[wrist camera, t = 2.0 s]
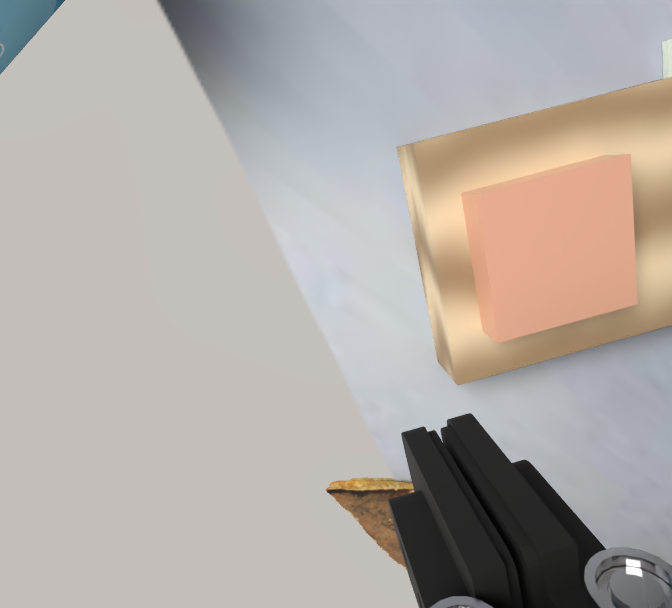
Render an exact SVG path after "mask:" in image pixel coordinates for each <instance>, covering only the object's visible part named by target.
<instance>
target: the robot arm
mask: <svg viewBox="0 0 672 608" xmlns="http://www.w3.org/2000/svg"><path fill="white" fill-rule="evenodd" d="M441 435H442V440H443V442H442V441H441V439H440V437H439V436H438V434H437V432H436V431H435V430H433V431H429V432H427V430H426V428H425V427H420V428H417V429H413V430H410V431H406V432H403V433H402V440H403V445H404V449H405V453H406V458H407V462H408V466H409V470H410V475H411V479H412V483H413V488H414V492H412V493H409V494H406V495H402V496H399V497H395V498H392V499H389V500H388V503H389V508H390V512H391V516H392V519H393V523H394V527H395V531H396V535H397V538H398V542H399V545H400V549H401V552H402V555H403V559H404V562H405V565H406V568H407V571H408V574H409V578H410V581H411V584H412V586H413V590H414V593H415V596H416V599H417V602H418V605H419V608H672V566H671V565H670V564H668V563H667V562H665V561H664V560H662V559H660V558H659V557H657V556H654V555H652V554H649V553H647V552H644V551H642V550H637V549H631V548H610V549H606V548H605V547H604V546H603V545H602V544H601V543H600V542H599V541H598V539H597V538H596V537H595V536H594V535H593V534H592V533H591V531H590V530H589V529H588V528H587V527H586V526H585V525H584V523H583V522H582V521H581V520H580V519H579V518H578V517H577V515H576V514H575V513H574V512H573V511H572V510H571V509H570V507H569V506H568V505H567V504H566V503H565V502H564V501H563V499H562V498H561V497H560V496H559V495H558V494H557V493H556V491H555V490H554V489H553V488H552V487H551V486H550V485H549V483H548V482H547V481H546V480H545V479H544V478H543V477H542V475H541V474H540V473H539V472H538V471H537V470H536V469H535V467H534V466H533V465H532V464H531V463H530V462H529V461H527V460H521V461H518V462H515V463H511V462H510V460H509V459H508V458H507V457H506V456H505V454H504V453H503V452H502V451H501V449H500V448H499V447H498V446H497V444H496V443H495V442H494V441H493V439H492V438H491V437H490V436H489V435H488V433H487V432H486V431H485V430H484V428H483V427H482V426H481V425H480V423H479V422H478V421H477V420H476V418H475V417H474V416H473V415H472V414H470V413H469V414H465V415H462V416H458V417H455V418H451V419H448V420H447V427H443V428H441Z"/></svg>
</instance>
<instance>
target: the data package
mask: <svg viewBox="0 0 672 608" xmlns="http://www.w3.org/2000/svg"><path fill="white" fill-rule="evenodd" d="M64 1H65V0H0V74H1V73H2V72H3V71H4V69H5V68H6V67H7V66H8V65H9V63H11V61H12V60H13V59H14V58H15V57H16V55H18V53H19V52H20V51H21V50H22V49H23V47H25V45H26V44H27V43H28V42H29V41H30V40H31V39H32V37H33V36H34V35H35V34H36V33H37V32H38V31H39V29H40V28H41V27H42V26H43V25H44V24H45V23H46V21H47V20H48V19H49V18H50V17H51V16H52V14H53V13H54V12H55V11H56V10H57V9H58V7H60V5H61V4H62V3H63V2H64Z"/></svg>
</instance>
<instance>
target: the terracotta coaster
mask: <svg viewBox="0 0 672 608" xmlns="http://www.w3.org/2000/svg"><path fill="white" fill-rule="evenodd" d="M461 197H462V204H463V210H464V216H465V223H466V229H467V235H468V242H469V248H470V255H471V261H472V267H473V274H474V280H475V286H476V293H477V299H478V306H479V312H480V318H481V325H482V331H483V332H485V333H486V334H487V335H489V336H490V337H491V338H492V339H494V340H495V341H496V342H498V343H500V342H504V341H507V340H511V339H514V338H518V337H522V336H525V335H529V334H532V333H536V332H540V331H543V330H547V329H550V328H554V327H557V326H561V325H565V324H568V323H572V322H575V321H579V320H583V319H586V318H590V317H593V316H597V315H600V314H604V313H608V312H611V311H615V310H618V309H622V308H626V307H629V306H633V305H636V304H638V301H637V279H636V257H635V235H634V214H633V192H632V170H631V154H618V155H603V156H599V157H595V158H591V159H587V160H584V161H580V162H576V163H572V164H568V165H565V166H561V167H557V168H553V169H549V170H545V171H542V172H538V173H534V174H530V175H526V176H523V177H519V178H515V179H511V180H507V181H504V182H500V183H496V184H492V185H488V186H485V187H481V188H477V189H473V190H469V191H466V192H462V193H461Z"/></svg>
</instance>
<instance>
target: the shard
mask: <svg viewBox="0 0 672 608" xmlns="http://www.w3.org/2000/svg"><path fill="white" fill-rule="evenodd" d="M326 491H327V492H328V493H329V494H330V495H331V496H333V497H334V498H335V499H336V501H337V502H338V503H339V504H340V505H341V506H342V507H343V508H345V509H346V510H347V511H349V512H350V513H351V515H353V517H354V518H355V519H356V520H357V521H358V522H359V523H360V525H362V527H363V529H364V530H365V531H366V533H368V534H369V535H370V536H371V537H372V538H373V539H374V540H375V541H376V543H377V544H378V545H379V546H380V547H381V548H382V549H383V550H385V551H386V552H387V553H388V554H389V556H390V557H391V558H393V559H394V560H395V561H396V562H397V563H398V564H402V565H403V566H404V567H405V568H406V565H405V562H404V559H403V555H402V552H401V549H400V545H399V542H398V538H397V535H396V531H395V527H394V523H393V519H392V516H391V512H390V508H389V503H388V500H389V499H392V498H395V497H399V496H402V495H406V494H409V493H412V492H414V488H413V483H408V482H402V481H395V479H392V478H353V479H350V480H345V481H334V482H331V484H330V487H329V488H327V489H326ZM406 569H407V568H406Z"/></svg>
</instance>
